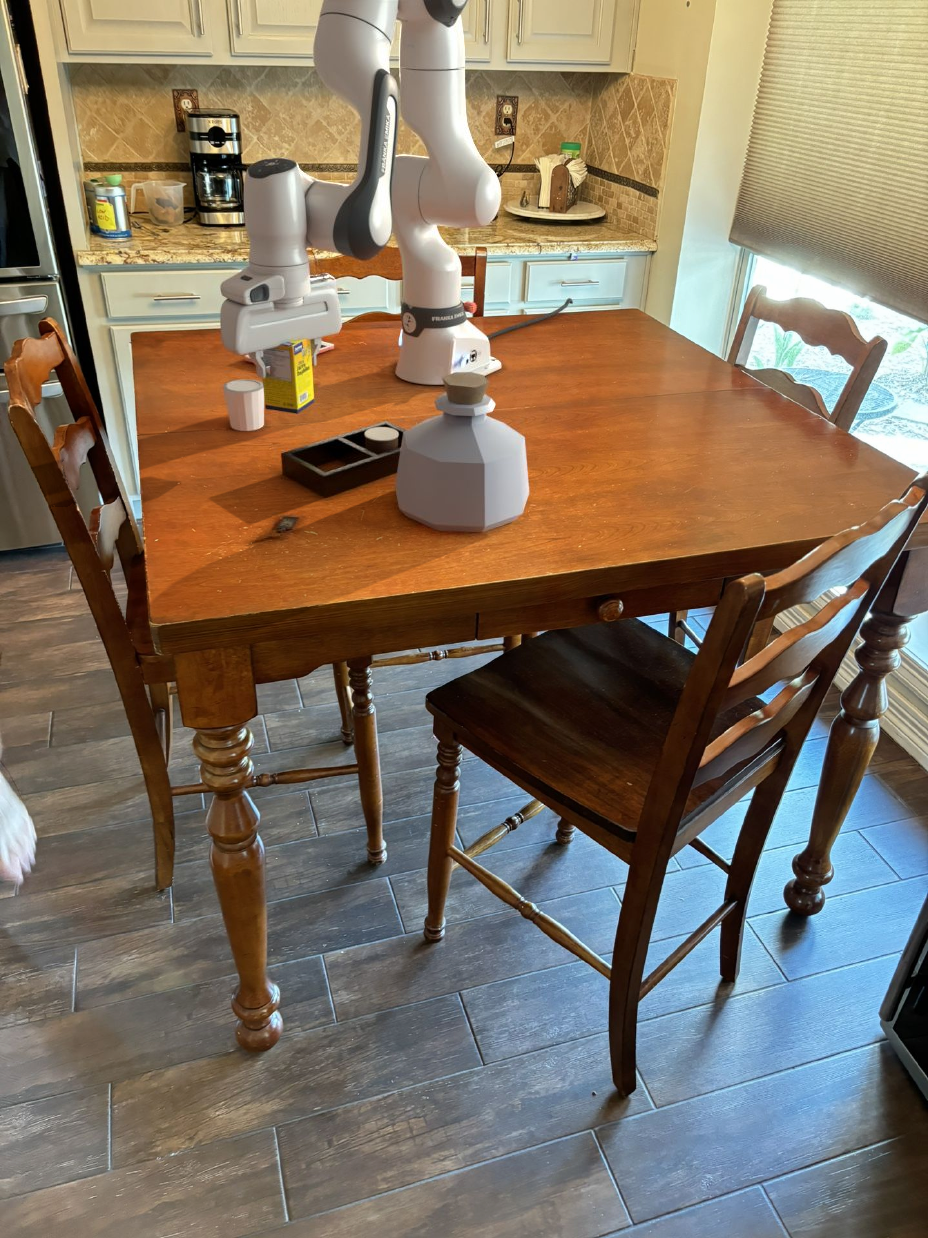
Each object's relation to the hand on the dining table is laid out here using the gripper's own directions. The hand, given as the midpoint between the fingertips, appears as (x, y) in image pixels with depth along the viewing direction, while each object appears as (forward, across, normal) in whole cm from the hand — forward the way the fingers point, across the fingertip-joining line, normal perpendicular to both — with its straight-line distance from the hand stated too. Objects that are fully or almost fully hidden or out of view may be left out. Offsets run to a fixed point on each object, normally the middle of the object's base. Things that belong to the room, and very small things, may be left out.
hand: (287, 371), depth 144 cm
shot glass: (+12, +1, -12) cm, 17 cm away
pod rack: (+12, -3, +14) cm, 19 cm away
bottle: (+12, -6, +34) cm, 37 cm away
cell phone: (+12, -27, -39) cm, 49 cm away
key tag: (+12, +19, +23) cm, 32 cm away
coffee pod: (+12, -8, +14) cm, 20 cm away
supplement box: (+6, 0, 0) cm, 6 cm away
